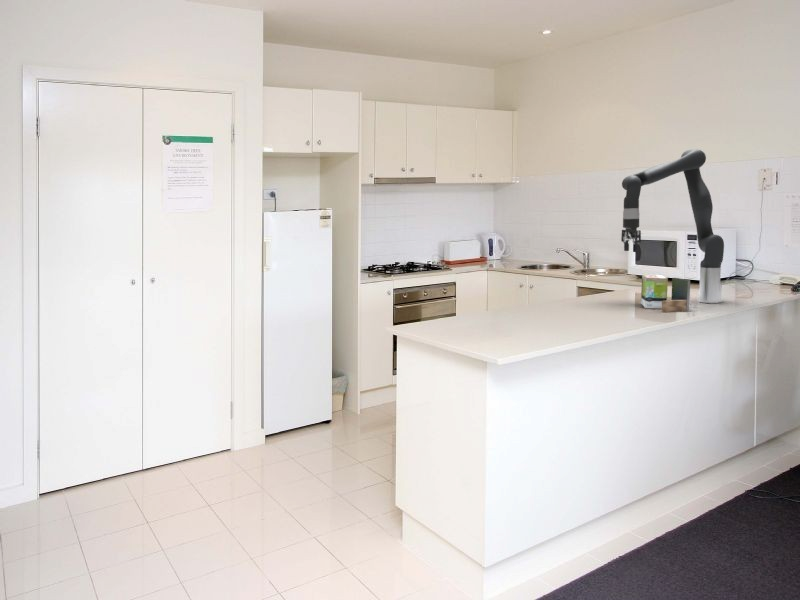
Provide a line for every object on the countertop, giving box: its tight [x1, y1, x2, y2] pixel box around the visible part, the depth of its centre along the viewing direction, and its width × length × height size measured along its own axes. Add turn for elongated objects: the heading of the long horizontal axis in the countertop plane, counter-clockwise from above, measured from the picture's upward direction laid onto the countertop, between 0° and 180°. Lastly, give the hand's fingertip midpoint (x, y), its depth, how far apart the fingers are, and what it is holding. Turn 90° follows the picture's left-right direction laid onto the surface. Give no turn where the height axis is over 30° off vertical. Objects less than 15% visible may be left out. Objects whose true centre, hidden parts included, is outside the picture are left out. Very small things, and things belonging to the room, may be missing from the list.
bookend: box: [671, 277, 691, 312], centre depth 323 cm, size 1×13×14 cm, turn 9°
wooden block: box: [661, 300, 688, 313], centre depth 318 cm, size 12×1×5 cm, turn 99°
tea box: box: [640, 274, 669, 309], centre depth 333 cm, size 15×10×15 cm, turn 168°
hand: (630, 251), depth 338 cm, fingers open, 8 cm apart
